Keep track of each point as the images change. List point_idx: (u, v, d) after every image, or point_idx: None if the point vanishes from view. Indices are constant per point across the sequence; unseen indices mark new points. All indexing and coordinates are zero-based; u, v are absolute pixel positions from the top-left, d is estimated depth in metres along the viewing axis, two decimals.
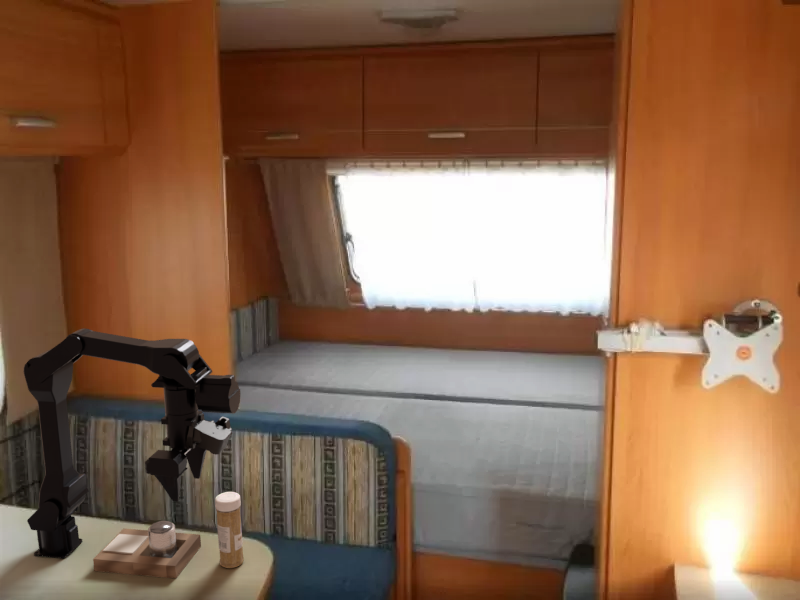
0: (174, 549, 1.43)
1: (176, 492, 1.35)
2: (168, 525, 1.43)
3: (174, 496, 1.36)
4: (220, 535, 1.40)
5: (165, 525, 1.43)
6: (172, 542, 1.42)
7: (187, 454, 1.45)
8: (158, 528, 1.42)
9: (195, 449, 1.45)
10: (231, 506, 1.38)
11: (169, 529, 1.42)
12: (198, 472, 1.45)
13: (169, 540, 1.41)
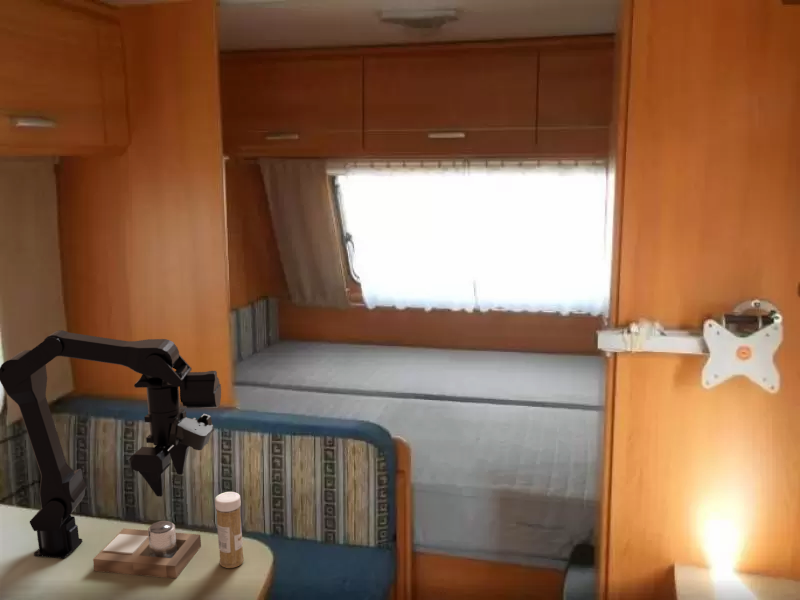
0: (174, 549, 1.43)
1: (160, 487, 1.40)
2: (168, 525, 1.43)
3: (158, 491, 1.41)
4: (220, 535, 1.40)
5: (165, 525, 1.43)
6: (172, 542, 1.42)
7: (170, 451, 1.50)
8: (158, 528, 1.42)
9: (178, 446, 1.49)
10: (231, 506, 1.38)
11: (169, 529, 1.42)
12: (181, 468, 1.50)
13: (169, 540, 1.41)
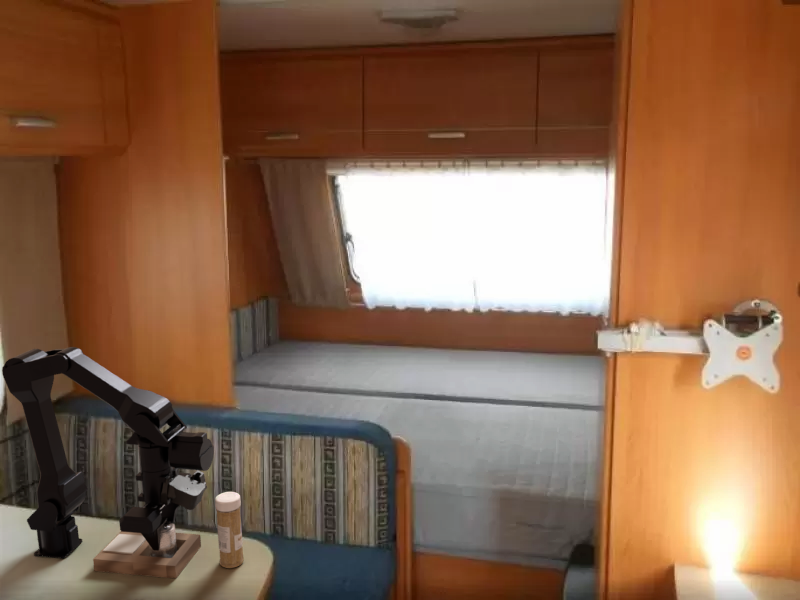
0: (174, 549, 1.43)
1: (156, 542, 1.39)
2: (168, 525, 1.43)
3: (155, 545, 1.40)
4: (220, 535, 1.40)
5: (165, 525, 1.43)
6: (172, 541, 1.42)
7: None
8: None
9: (166, 507, 1.45)
10: (231, 506, 1.38)
11: (169, 529, 1.42)
12: None
13: (169, 539, 1.41)
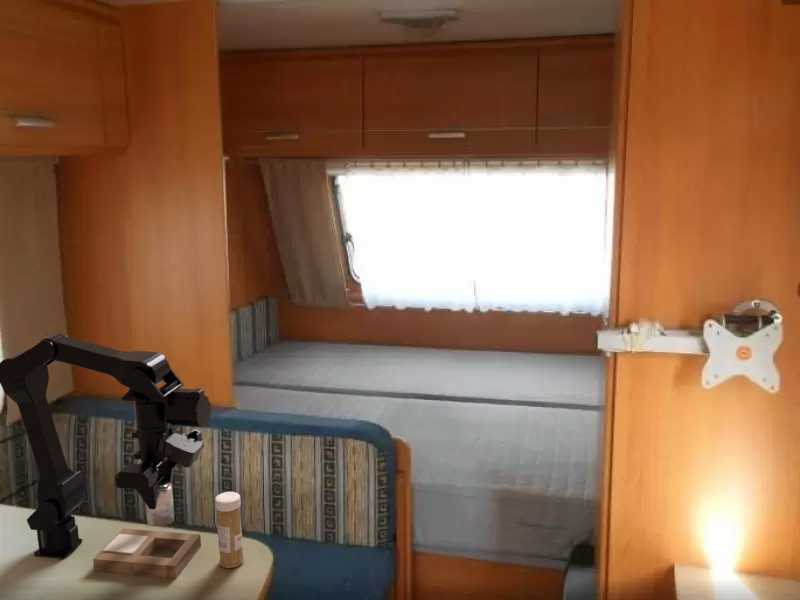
0: (171, 508, 1.41)
1: (153, 500, 1.38)
2: (165, 484, 1.41)
3: (151, 504, 1.38)
4: (220, 535, 1.40)
5: (162, 484, 1.41)
6: (169, 501, 1.40)
7: None
8: None
9: (163, 466, 1.43)
10: (231, 506, 1.38)
11: (166, 488, 1.40)
12: None
13: (166, 498, 1.39)
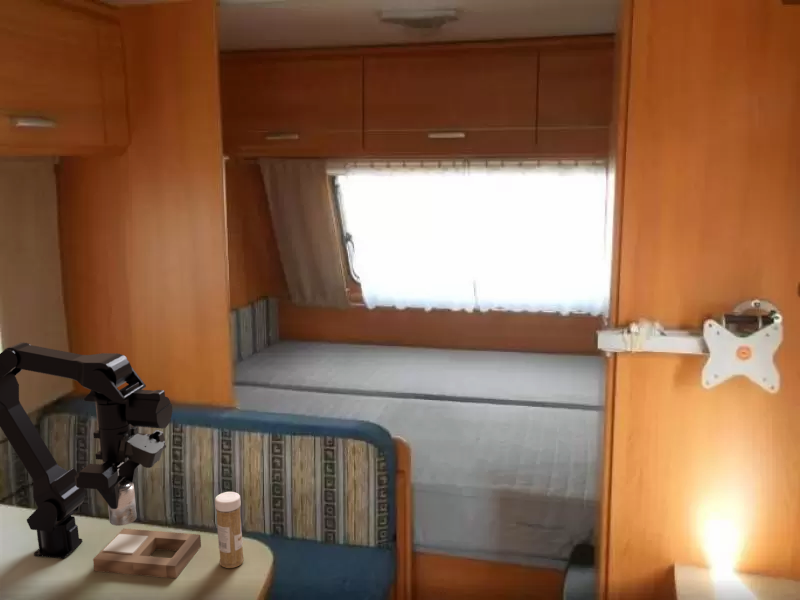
0: (133, 508, 1.42)
1: (114, 500, 1.39)
2: (127, 484, 1.42)
3: (112, 504, 1.40)
4: (220, 535, 1.40)
5: (124, 484, 1.42)
6: (131, 500, 1.42)
7: (118, 471, 1.45)
8: None
9: (126, 466, 1.44)
10: (231, 506, 1.38)
11: (128, 488, 1.41)
12: None
13: (127, 498, 1.41)
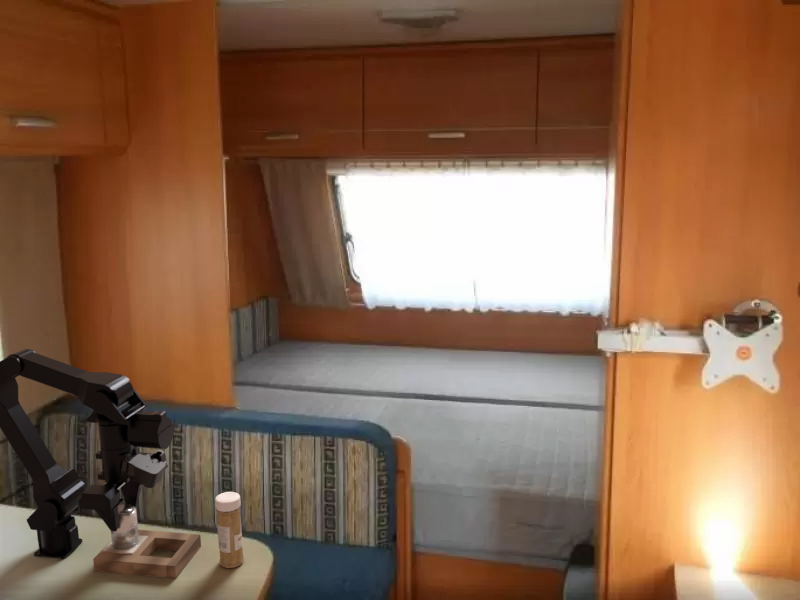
0: (135, 532, 1.43)
1: (114, 522, 1.39)
2: (129, 508, 1.43)
3: (112, 526, 1.40)
4: (220, 535, 1.40)
5: (126, 508, 1.43)
6: (134, 525, 1.43)
7: (122, 489, 1.46)
8: (119, 511, 1.42)
9: (130, 484, 1.46)
10: (231, 506, 1.38)
11: (130, 512, 1.42)
12: None
13: (130, 523, 1.42)
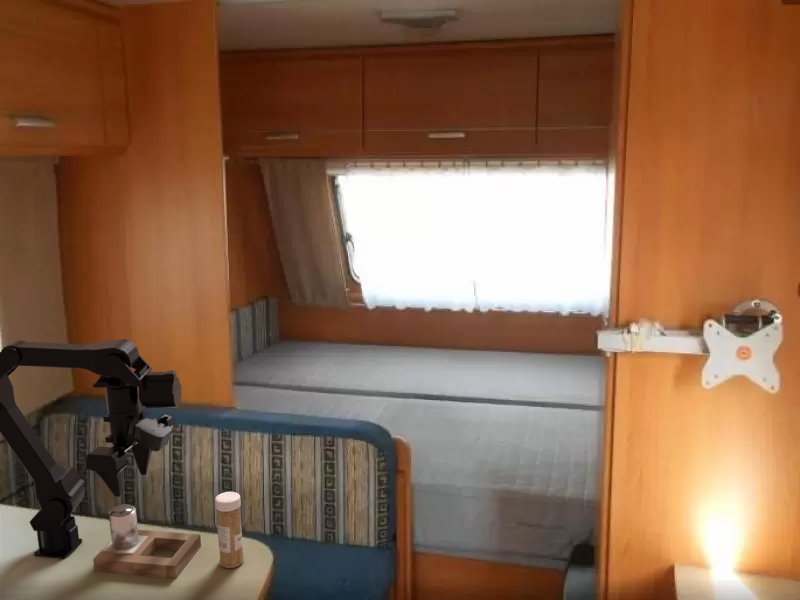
0: (135, 532, 1.43)
1: (117, 487, 1.40)
2: (129, 508, 1.43)
3: (116, 491, 1.40)
4: (220, 535, 1.40)
5: (126, 508, 1.43)
6: (133, 525, 1.43)
7: (134, 451, 1.50)
8: (118, 511, 1.42)
9: (141, 446, 1.49)
10: (231, 506, 1.38)
11: (129, 512, 1.42)
12: (144, 469, 1.49)
13: (129, 523, 1.42)
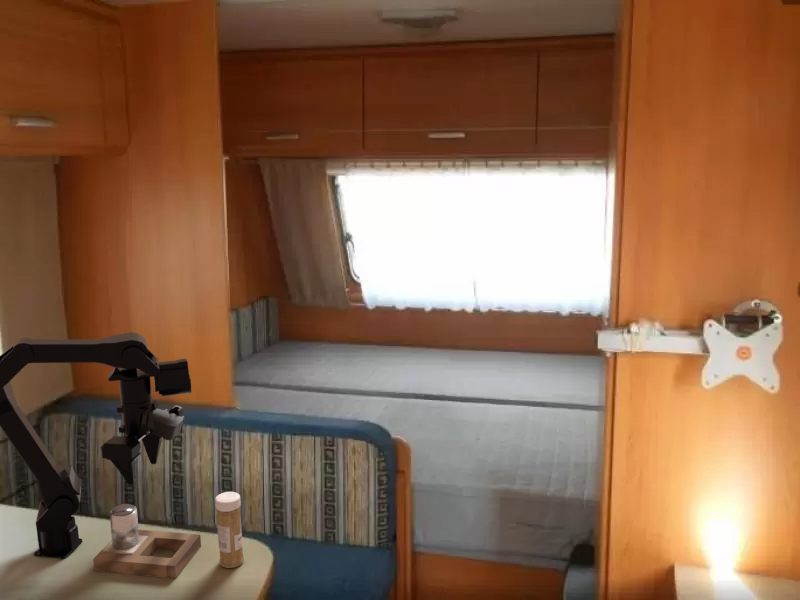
0: (135, 532, 1.43)
1: (131, 476, 1.45)
2: (130, 508, 1.43)
3: (129, 479, 1.45)
4: (220, 535, 1.40)
5: (127, 508, 1.43)
6: (134, 525, 1.43)
7: (144, 441, 1.54)
8: (120, 511, 1.42)
9: (151, 436, 1.54)
10: (231, 506, 1.38)
11: (130, 512, 1.42)
12: (154, 458, 1.54)
13: (130, 523, 1.42)
